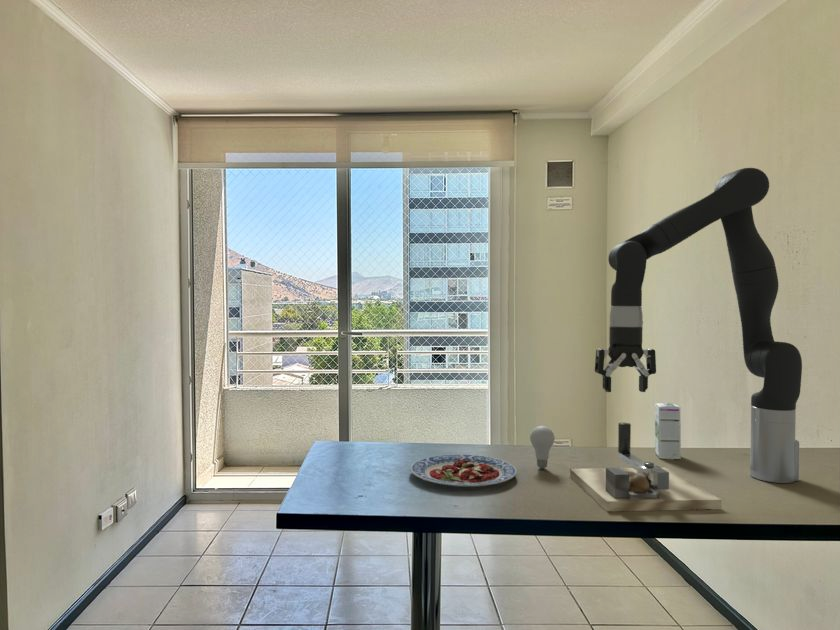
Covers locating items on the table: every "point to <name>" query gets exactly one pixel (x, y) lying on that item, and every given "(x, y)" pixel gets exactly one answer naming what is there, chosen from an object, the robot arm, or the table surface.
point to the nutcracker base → (617, 496)
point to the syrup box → (667, 431)
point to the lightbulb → (542, 444)
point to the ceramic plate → (463, 470)
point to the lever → (645, 469)
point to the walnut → (639, 484)
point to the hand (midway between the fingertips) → (624, 391)
